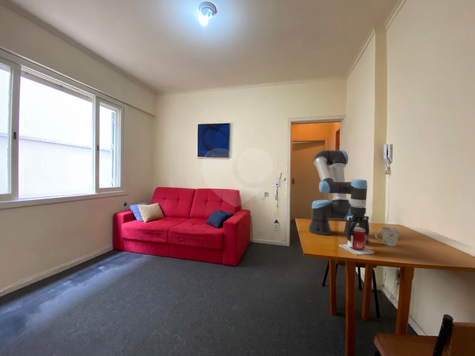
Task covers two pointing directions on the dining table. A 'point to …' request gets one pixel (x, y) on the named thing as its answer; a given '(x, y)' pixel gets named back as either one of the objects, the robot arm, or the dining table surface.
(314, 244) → the dining table surface
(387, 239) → the mug
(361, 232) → the canned food
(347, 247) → the mat
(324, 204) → the robot arm
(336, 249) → the dining table surface
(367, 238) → the brown block
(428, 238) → the dining table surface
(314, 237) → the dining table surface
